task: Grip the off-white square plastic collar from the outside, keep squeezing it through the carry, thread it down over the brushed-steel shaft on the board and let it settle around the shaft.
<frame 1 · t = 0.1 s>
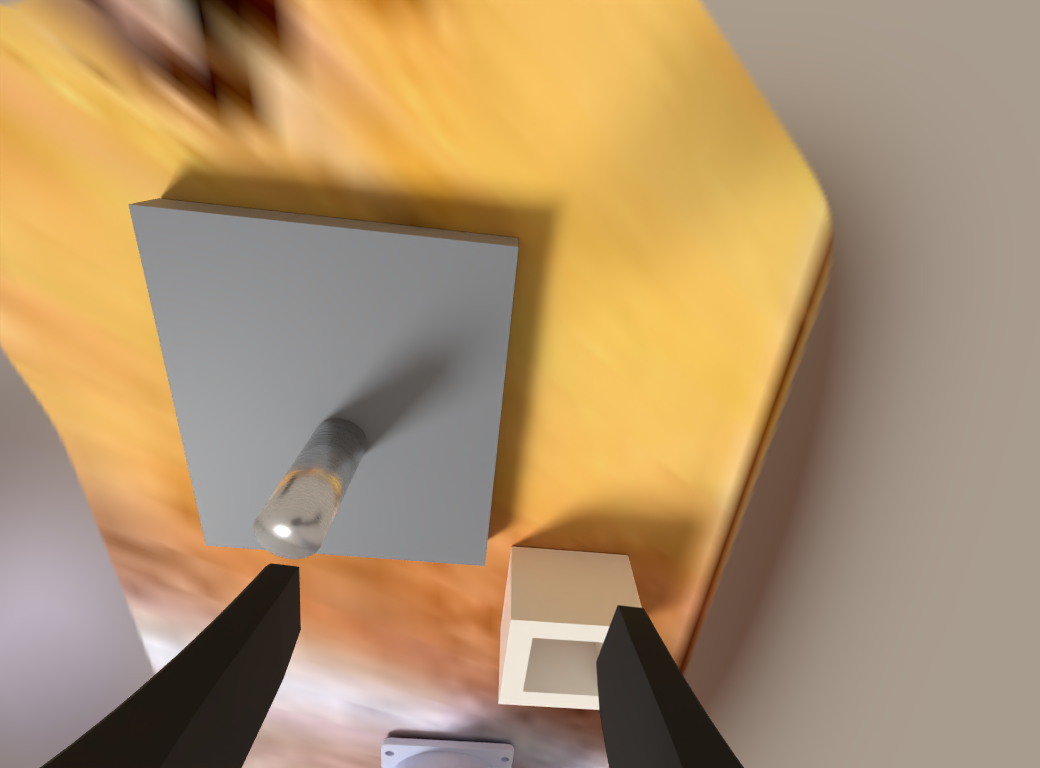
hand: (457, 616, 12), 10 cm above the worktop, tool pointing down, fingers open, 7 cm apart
shaft board: (350, 399, 20), on the worktop
collar: (561, 592, 25), on the worktop
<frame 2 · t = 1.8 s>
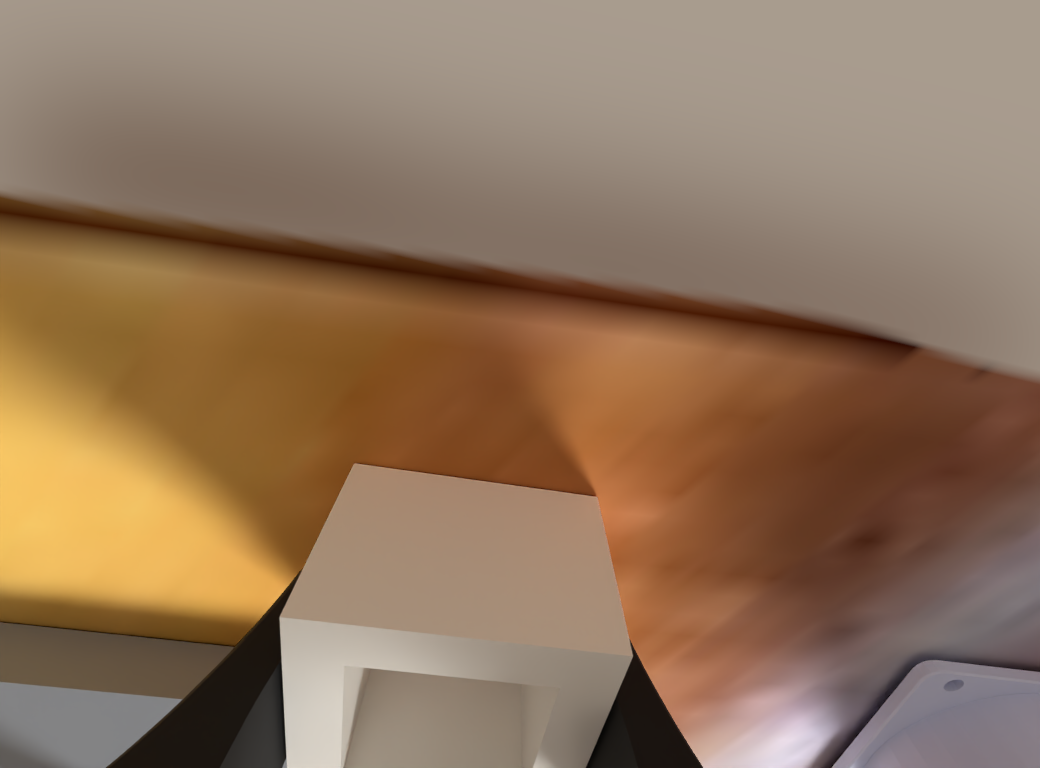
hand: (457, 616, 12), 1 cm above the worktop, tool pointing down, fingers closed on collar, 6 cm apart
shaft board: (115, 754, 16), on the worktop
collar: (462, 568, 13), on the worktop, touching gripper
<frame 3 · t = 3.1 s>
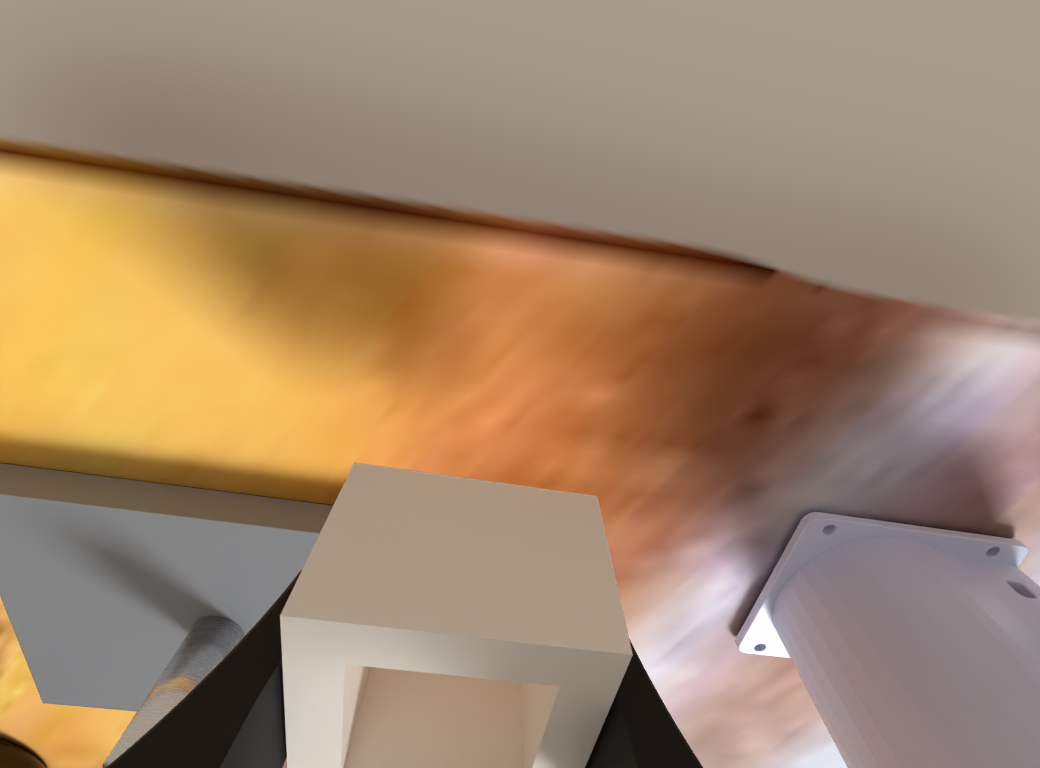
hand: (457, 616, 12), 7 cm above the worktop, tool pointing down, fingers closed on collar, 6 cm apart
shaft board: (212, 598, 22), on the worktop
collar: (462, 567, 13), point 6 cm above the worktop, touching gripper
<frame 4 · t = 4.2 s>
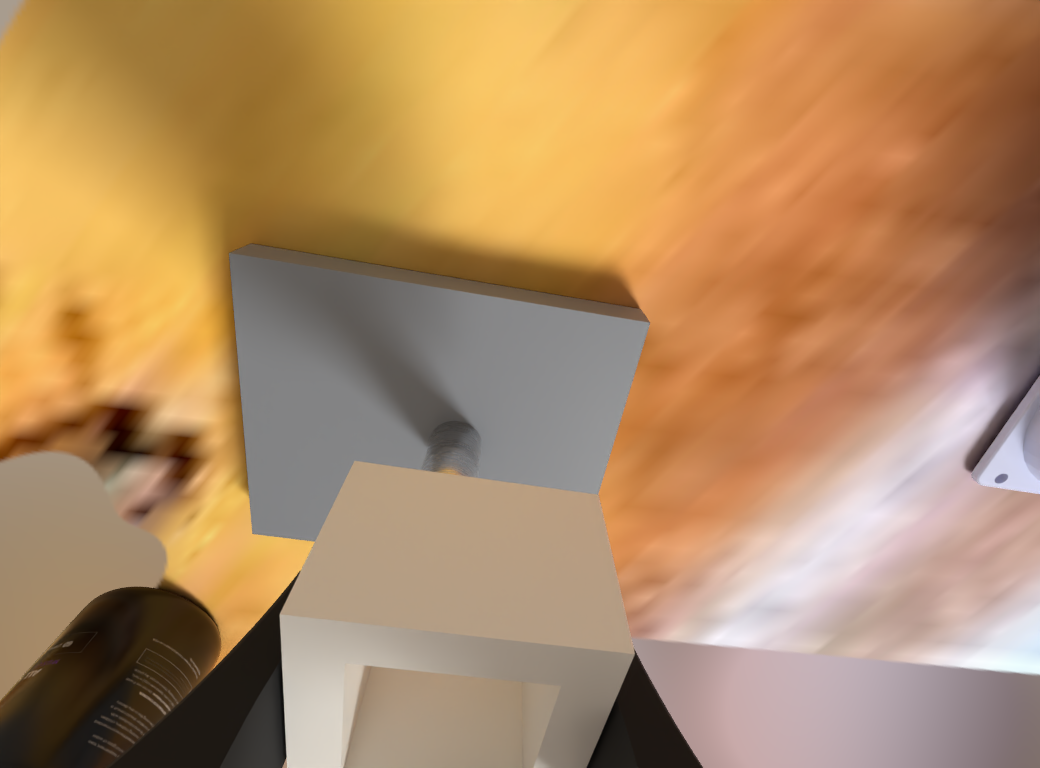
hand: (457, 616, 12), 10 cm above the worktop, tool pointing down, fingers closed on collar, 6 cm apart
supplement bottle: (161, 624, 27), on the worktop
shaft board: (435, 419, 21), on the worktop
collar: (463, 566, 13), point 9 cm above the worktop, touching gripper
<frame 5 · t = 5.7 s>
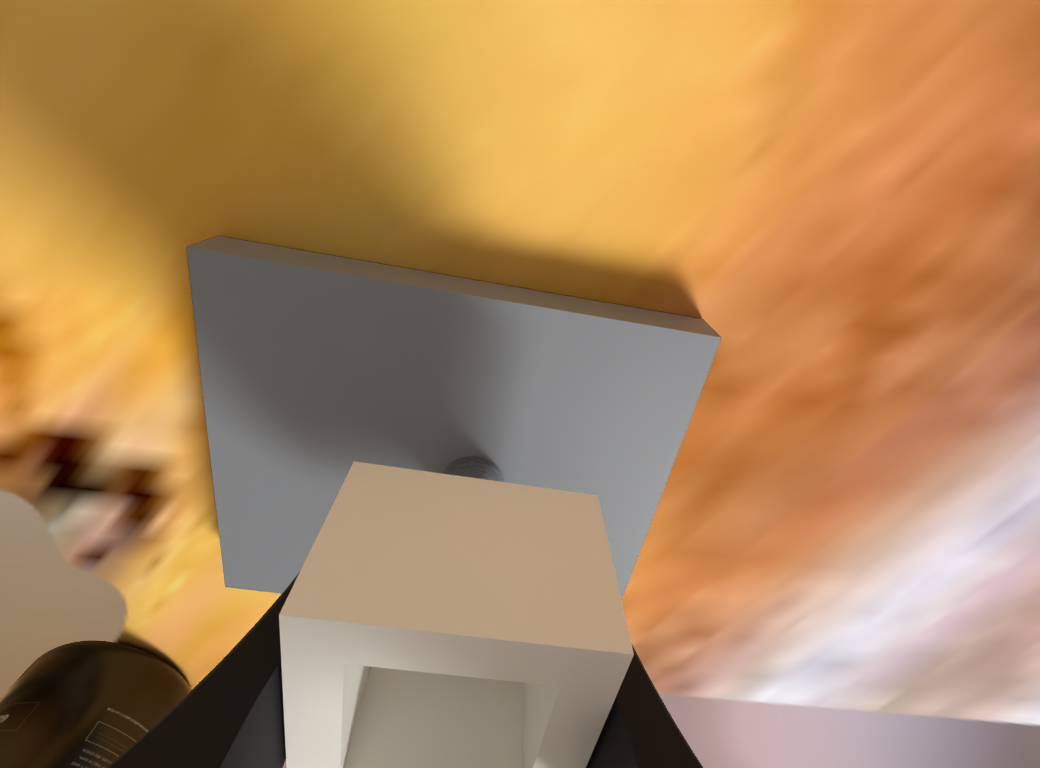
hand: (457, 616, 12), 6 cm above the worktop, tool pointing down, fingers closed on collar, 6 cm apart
supplement bottle: (123, 680, 23), on the worktop
shaft board: (447, 451, 17), on the worktop
collar: (462, 567, 13), point 5 cm above the worktop, touching gripper
when the fingers open (4 cm above the worktop, at t = 6.8 s): collar drops 1 cm, resting on shaft board.
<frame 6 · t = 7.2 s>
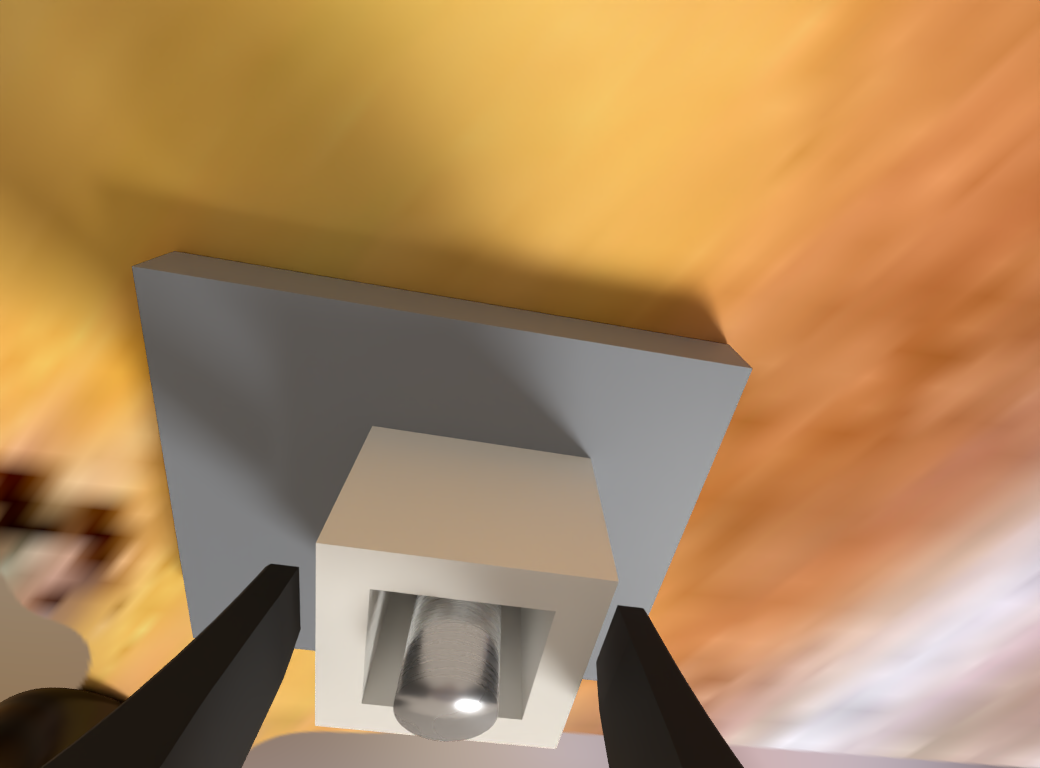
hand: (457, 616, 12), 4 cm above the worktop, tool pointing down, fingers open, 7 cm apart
supplement bottle: (90, 727, 21), on the worktop
shaft board: (439, 488, 15), on the worktop
collar: (468, 525, 14), point 1 cm above the worktop, touching shaft board
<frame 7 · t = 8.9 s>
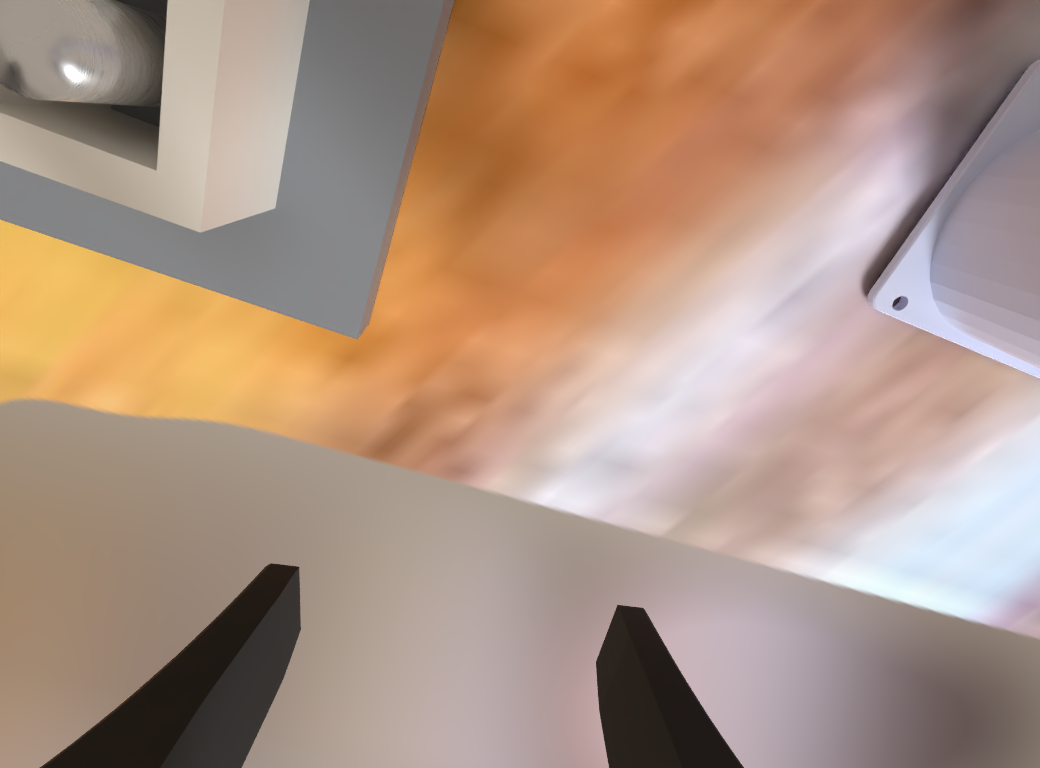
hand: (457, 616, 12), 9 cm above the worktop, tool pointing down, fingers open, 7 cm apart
shaft board: (178, 58, 15), on the worktop
collar: (185, 64, 13), point 1 cm above the worktop, touching shaft board
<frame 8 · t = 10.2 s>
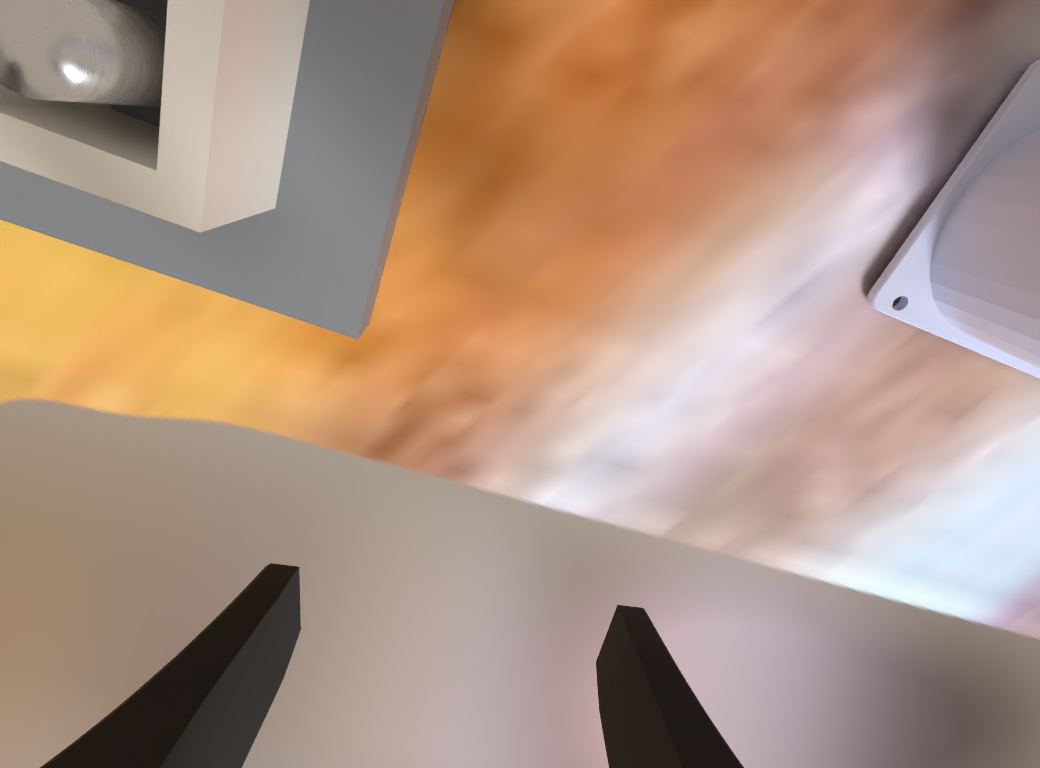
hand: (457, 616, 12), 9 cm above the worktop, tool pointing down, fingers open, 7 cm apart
shaft board: (178, 57, 15), on the worktop
collar: (185, 64, 13), point 1 cm above the worktop, touching shaft board
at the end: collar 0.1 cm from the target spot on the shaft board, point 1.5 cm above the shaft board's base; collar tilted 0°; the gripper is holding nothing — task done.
